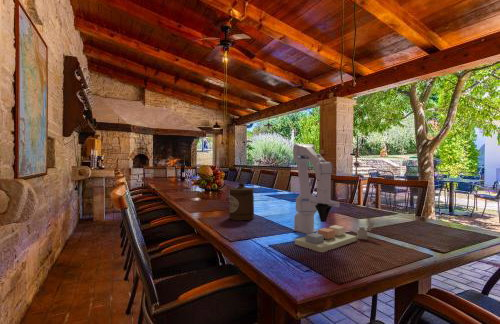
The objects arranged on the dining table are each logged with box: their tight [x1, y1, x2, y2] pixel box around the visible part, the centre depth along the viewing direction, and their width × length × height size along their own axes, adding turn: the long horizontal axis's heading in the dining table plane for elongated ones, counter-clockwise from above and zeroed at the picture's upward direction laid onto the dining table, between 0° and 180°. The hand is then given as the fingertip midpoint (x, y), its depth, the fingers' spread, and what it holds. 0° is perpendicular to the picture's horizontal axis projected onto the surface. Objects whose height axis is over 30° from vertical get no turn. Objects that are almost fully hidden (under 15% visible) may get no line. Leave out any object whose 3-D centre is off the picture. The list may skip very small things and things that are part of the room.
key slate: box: [305, 232, 323, 244], centre depth 116 cm, size 5×5×3 cm
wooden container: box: [228, 181, 255, 221], centre depth 169 cm, size 15×15×22 cm
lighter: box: [356, 221, 375, 240], centre depth 127 cm, size 7×2×8 cm, turn 76°
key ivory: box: [328, 224, 346, 236], centre depth 126 cm, size 5×5×3 cm
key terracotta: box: [317, 227, 335, 239], centre depth 121 cm, size 5×5×3 cm
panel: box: [294, 232, 358, 254], centre depth 121 cm, size 14×25×2 cm, turn 129°
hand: (323, 221), depth 120 cm, fingers closed
